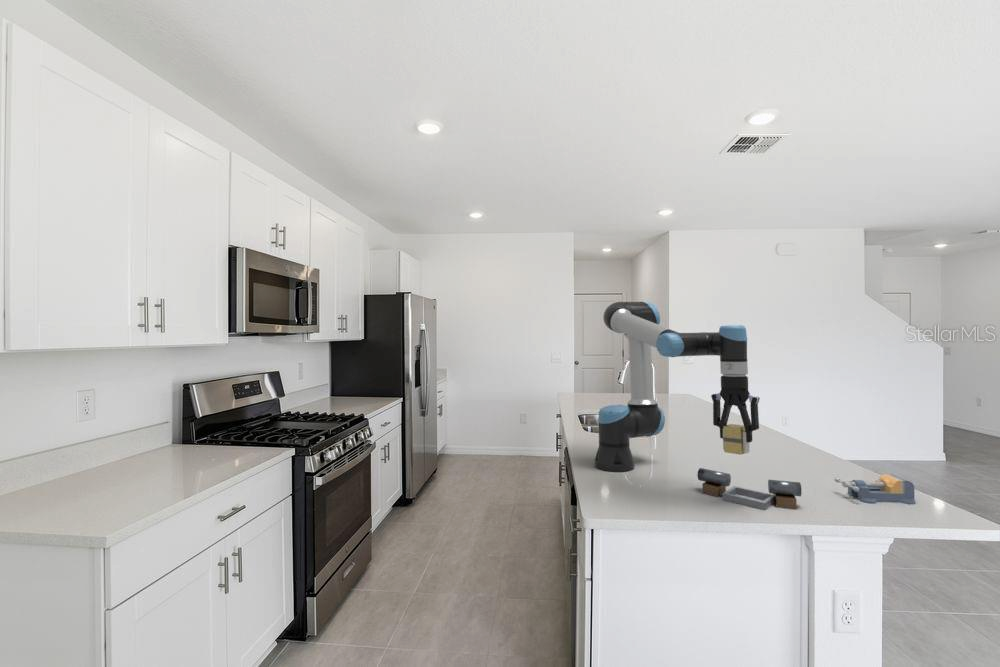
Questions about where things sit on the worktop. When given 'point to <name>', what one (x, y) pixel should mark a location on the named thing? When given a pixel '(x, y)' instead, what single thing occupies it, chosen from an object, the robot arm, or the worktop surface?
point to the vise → (881, 489)
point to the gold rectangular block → (733, 438)
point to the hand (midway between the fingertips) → (736, 450)
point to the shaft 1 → (713, 481)
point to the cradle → (767, 498)
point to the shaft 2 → (784, 493)
